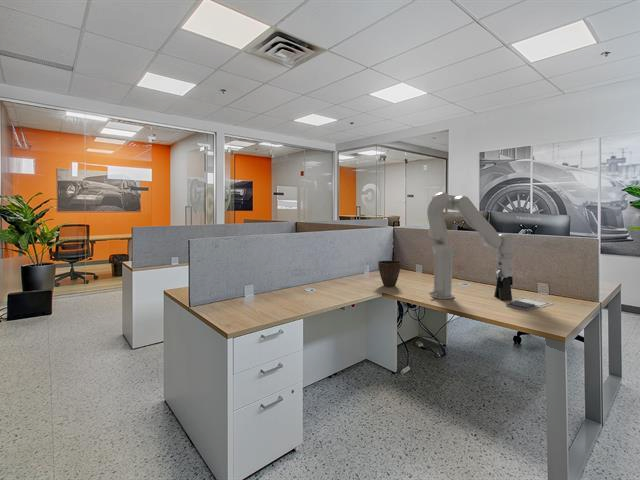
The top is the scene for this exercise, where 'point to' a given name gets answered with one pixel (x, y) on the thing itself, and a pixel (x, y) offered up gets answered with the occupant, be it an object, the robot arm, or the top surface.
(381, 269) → the plant pot
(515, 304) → the ink pad
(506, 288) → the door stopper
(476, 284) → the top surface
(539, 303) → the print sheet
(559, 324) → the top surface
